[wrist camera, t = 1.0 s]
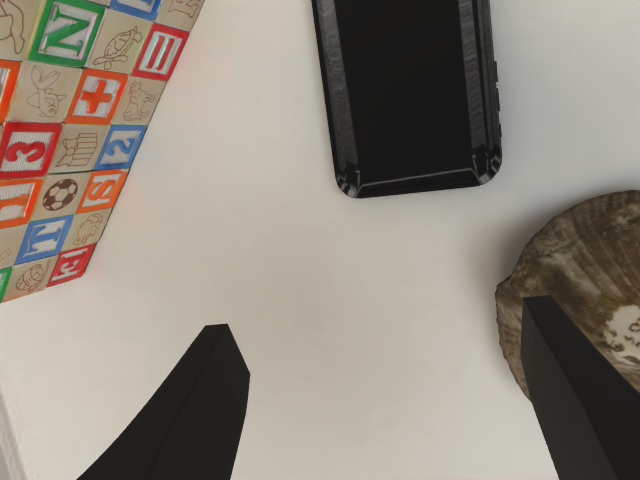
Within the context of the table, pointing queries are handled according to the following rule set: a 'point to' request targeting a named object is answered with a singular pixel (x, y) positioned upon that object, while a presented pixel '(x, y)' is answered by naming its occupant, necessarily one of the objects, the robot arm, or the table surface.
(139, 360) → the table surface
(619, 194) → the fossilized seashell
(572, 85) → the table surface
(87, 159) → the stack of blocks
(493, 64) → the phone
